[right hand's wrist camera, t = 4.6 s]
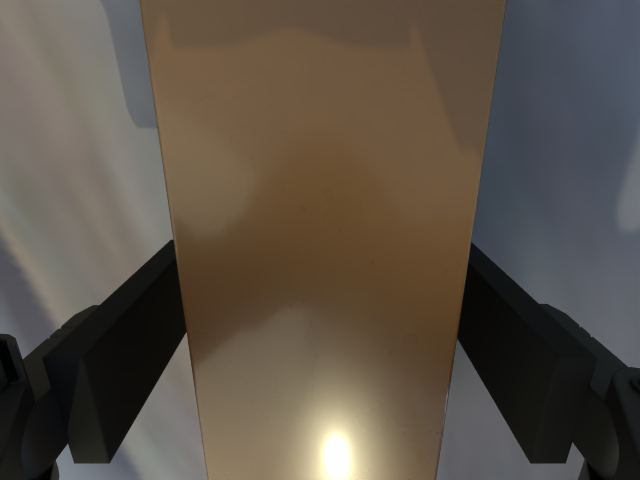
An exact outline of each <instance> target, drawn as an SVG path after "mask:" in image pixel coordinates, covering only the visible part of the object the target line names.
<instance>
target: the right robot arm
mask: <svg viewBox="0 0 640 480" xmlns="http://www.w3.org/2000/svg"><path fill="white" fill-rule="evenodd" d="M186 332H187V330H186V323H185V316H184V309H183V302H182V295H181V288H180V281H179V274H178V267H177V260H176V253H175V246H174V240H170V241H169V242H168V243H167V244H166V245H165V246H164V247H163V248H162V249H160V250H159V251H158V252H157V253H156V254H155V255H154V256H153V257H152V258H151V259H150V260H149V261H147V262H146V263H145V264H144V265H143V266H142V267H141V268H140V269H139V270H138V271H137V272H135V273H134V274H133V275H132V276H131V277H130V278H129V279H128V280H127V281H126V282H125V283H123V284H122V285H121V286H120V287H119V288H118V289H117V290H116V291H115V292H114V293H113V294H111V295H110V296H109V297H108V298H107V299H106V300H105V301H104V302H103V303H102V304H101V305H93V306H91V307H89V308H87V309H85V310H83V311H81V312H79V313H77V314H75V315H74V316H73V317H72V318H70V319H69V320H68V321H67V322H66V323H65V324H64V325H62V326H61V329H58V330H57V331H55V332H54V333H53V334H52V335H51V336H50V339H46V340H45V341H44V342H43V343H41V344H40V345H39V346H38V347H37V348H36V349H35V350H33V351H32V352H31V353H30V354H29V355H28V356H26V357H25V358H24V359H23V360H22V357H21V353H20V350H19V347H18V344H17V341H16V338H14V337H13V336H11V335H9V334H0V480H59V471H58V466H57V463H56V459H57V457H58V456H59V455H60V453H61V452H62V451H63V449H64V448H65V447H66V445H67V444H69V448H70V451H71V454H72V457H73V461H74V463H110V462H111V460H112V458H113V456H114V455H115V453H116V451H117V450H118V448H119V446H120V445H121V443H122V441H123V439H124V438H125V436H126V434H127V433H128V431H129V429H130V427H131V426H132V424H133V422H134V421H135V419H136V417H137V416H138V414H139V412H140V410H141V409H142V407H143V405H144V404H145V402H146V400H147V398H148V397H149V395H150V393H151V392H152V390H153V388H154V386H155V385H156V383H157V381H158V380H159V378H160V376H161V374H162V373H163V371H164V369H165V368H166V366H167V364H168V362H169V361H170V359H171V357H172V356H173V354H174V352H175V350H176V349H177V347H178V345H179V344H180V342H181V340H182V339H183V337H184V335H185V333H186ZM457 339H458V340H459V342H460V344H461V345H462V347H463V349H464V351H465V352H466V354H467V356H468V357H469V359H470V361H471V362H472V364H473V366H474V368H475V369H476V371H477V373H478V374H479V376H480V378H481V380H482V381H483V383H484V385H485V386H486V388H487V390H488V392H489V393H490V395H491V397H492V398H493V400H494V402H495V404H496V405H497V407H498V409H499V410H500V412H501V414H502V416H503V417H504V419H505V421H506V422H507V424H508V426H509V428H510V429H511V431H512V433H513V434H514V436H515V438H516V439H517V441H518V443H519V445H520V446H521V448H522V450H523V451H524V453H525V455H526V457H527V458H528V460H529V462H530V463H566V461H567V457H568V454H569V451H570V448H571V444H572V442H573V443H574V444H575V446H576V447H577V449H578V450H579V451H580V453H581V454H582V455H583V457H584V458H585V460H584V463H583V466H582V469H581V472H580V475H579V478H578V480H640V368H633V367H628V366H626V365H625V364H624V363H623V362H622V361H621V360H619V359H618V358H617V357H616V356H615V355H614V354H612V353H611V352H610V351H609V350H608V349H607V348H605V347H604V346H603V345H602V344H601V343H600V342H598V341H597V340H596V339H595V338H594V337H590V334H589V333H588V332H587V331H585V330H584V329H583V328H582V327H579V325H578V324H577V323H576V322H575V321H574V320H573V319H571V318H570V317H569V316H568V315H567V314H566V313H564V312H562V311H560V310H558V309H556V308H554V307H552V306H550V305H548V304H538V303H537V302H536V301H535V300H534V299H533V298H532V297H531V296H530V295H529V294H527V293H526V292H525V291H524V290H523V289H522V288H521V287H520V286H519V285H518V284H517V283H515V282H514V281H513V280H512V279H511V278H510V277H509V276H508V275H507V274H506V273H505V272H503V271H502V270H501V269H500V268H499V267H498V266H497V265H496V264H495V263H494V262H493V261H491V260H490V259H489V258H488V257H487V256H486V255H485V254H484V253H483V252H482V251H481V250H479V249H478V248H477V247H476V246H475V245H474V244H473V243H472V242H471V246H470V253H469V260H468V266H467V273H466V280H465V287H464V293H463V300H462V307H461V314H460V321H459V327H458V334H457Z"/></svg>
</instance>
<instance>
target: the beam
mask: <svg viewBox="0 0 640 480" xmlns="http://www.w3.org/2000/svg"><path fill="white" fill-rule="evenodd" d="M139 1H140V8H141V15H142V22H143V29H144V36H145V43H146V50H147V57H148V64H149V71H150V78H151V85H152V92H153V99H154V106H155V113H156V120H157V127H158V134H159V141H160V148H161V155H162V162H163V169H164V176H165V183H166V190H167V197H168V204H169V211H170V218H171V225H172V232H173V239H174V246H175V253H176V260H177V267H178V274H179V281H180V288H181V295H182V302H183V309H184V316H185V323H186V330H187V337H188V344H189V351H190V358H191V365H192V372H193V379H194V386H195V393H196V400H197V407H198V414H199V421H200V428H201V435H202V442H203V449H204V456H205V463H206V470H207V477H208V480H436V476H437V470H438V463H439V456H440V449H441V443H442V436H443V429H444V422H445V415H446V409H447V402H448V395H449V388H450V382H451V375H452V368H453V361H454V354H455V348H456V341H457V334H458V327H459V321H460V314H461V307H462V300H463V293H464V287H465V280H466V273H467V266H468V260H469V253H470V246H471V239H472V233H473V226H474V219H475V212H476V205H477V199H478V192H479V185H480V178H481V172H482V165H483V158H484V151H485V144H486V138H487V131H488V124H489V117H490V111H491V104H492V97H493V90H494V83H495V77H496V70H497V63H498V56H499V50H500V43H501V36H502V29H503V22H504V16H505V9H506V2H507V0H139Z"/></svg>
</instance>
